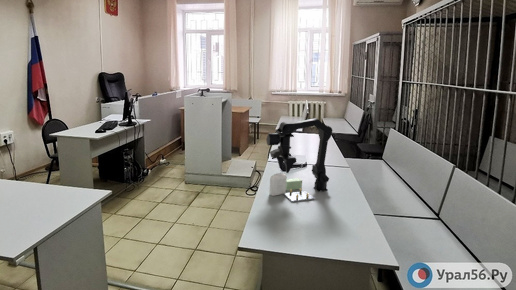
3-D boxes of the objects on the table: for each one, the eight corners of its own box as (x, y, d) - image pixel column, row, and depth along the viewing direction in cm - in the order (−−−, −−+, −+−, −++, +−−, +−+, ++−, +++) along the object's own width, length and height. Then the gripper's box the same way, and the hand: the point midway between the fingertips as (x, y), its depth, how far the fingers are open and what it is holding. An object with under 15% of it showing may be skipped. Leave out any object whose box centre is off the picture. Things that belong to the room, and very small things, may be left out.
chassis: (305, 192, 195) (305, 187, 194) (314, 199, 185) (314, 193, 184) (283, 194, 190) (283, 189, 189) (291, 202, 180) (292, 196, 179)
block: (298, 186, 205) (298, 178, 204) (301, 189, 201) (302, 180, 200) (283, 187, 202) (284, 179, 201) (286, 190, 198) (287, 181, 197)
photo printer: (282, 191, 196) (283, 171, 193) (286, 193, 193) (288, 173, 190) (268, 194, 191) (269, 173, 188) (272, 196, 187) (273, 176, 184)
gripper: (265, 141, 193) (264, 167, 197) (278, 149, 176) (277, 177, 180) (282, 140, 197) (281, 165, 201) (297, 148, 180) (296, 175, 184)
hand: (283, 170), depth 191 cm, fingers open, 9 cm apart
